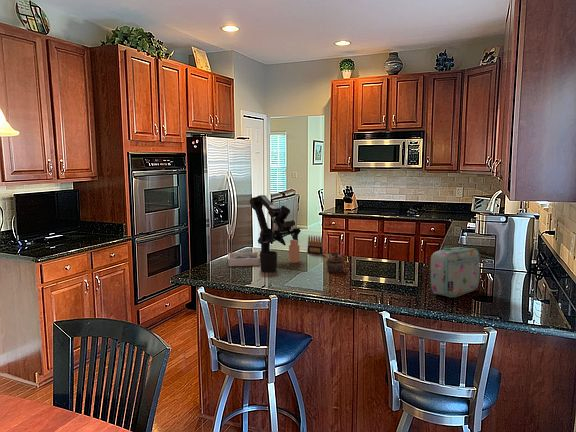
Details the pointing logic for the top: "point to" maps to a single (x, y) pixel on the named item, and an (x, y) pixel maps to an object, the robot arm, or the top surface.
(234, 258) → the tray
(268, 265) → the pen holder
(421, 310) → the top surface
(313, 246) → the ammunition clip
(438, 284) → the lunch box
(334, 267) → the cupcake
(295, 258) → the post
